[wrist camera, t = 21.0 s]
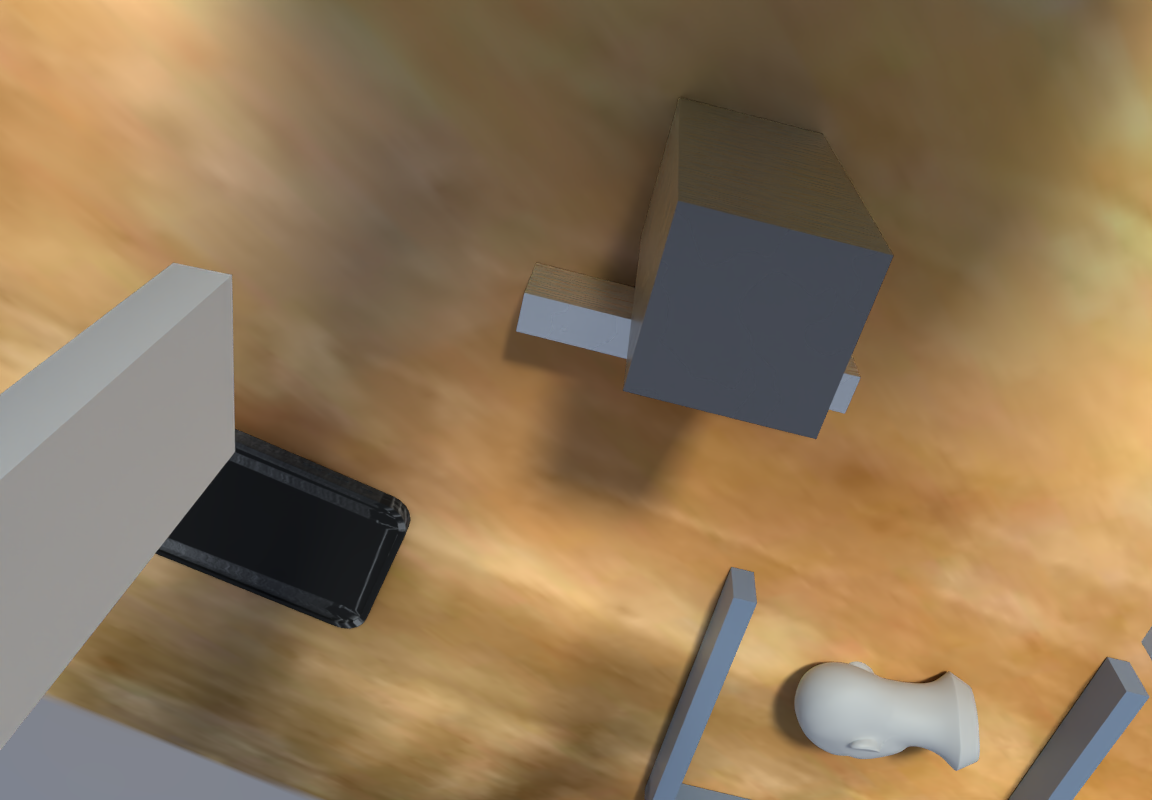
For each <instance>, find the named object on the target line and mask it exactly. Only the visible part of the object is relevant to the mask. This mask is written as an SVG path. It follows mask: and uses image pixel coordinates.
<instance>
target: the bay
mask: <svg viewBox="0 0 1152 800" xmlns="http://www.w3.org/2000/svg"><path fill="white" fill-rule="evenodd" d="M756 604H757V599H756V589H755V580H754V572H750V571H746V570H742V569H738V568H733V567H731V569H730V572H729V574H728V577H727V580H726V582H725V585H724V587H723V590H722V592H721V595H720V598H719V600H718V603H717V605H716V608H715V610H714V613H713V615H712V618H711V621H710V623H709V626H708V628H707V631H706V633H705V636H704V639H703V641H702V644H701V646H700V649H699V651H698V654H697V656H696V659H695V662H694V664H693V667H692V669H691V672H690V674H689V677H688V680H687V682H686V685H685V687H684V690H683V692H682V695H681V698H680V700H679V703H678V705H677V708H676V710H675V713H674V715H673V718H672V721H671V723H670V726H669V728H668V731H667V733H666V736H665V739H664V741H663V744H662V746H661V749H660V751H659V754H658V756H657V759H656V762H655V764H654V767H653V769H652V772H651V774H650V777H649V780H648V782H647V785H646V787H645V800H750V799H745V798H741V797H737V796H733V795H728V794H724V793H720V792H716V791H711V790H707V789H703V788H699V787H694V786H690V785H686V784H682V781H683V779H684V776H685V774H686V772H687V769H688V767H689V764H690V762H691V760H692V757H693V755H694V752H695V750H696V748H697V745H698V743H699V740H700V738H701V736H702V733H703V731H704V729H705V726H706V724H707V721H708V719H709V717H710V714H711V712H712V709H713V707H714V705H715V702H716V700H717V697H718V695H719V693H720V690H721V688H722V685H723V683H724V681H725V678H726V676H727V674H728V671H729V669H730V666H731V664H732V662H733V659H734V657H735V654H736V652H737V650H738V647H739V645H740V642H741V640H742V638H743V635H744V633H745V630H746V628H747V626H748V623H749V621H750V619H751V616H752V614H753V611H754V609H755V607H756ZM1148 698H1149V695H1148V694H1147V692H1146V690H1145V688H1144V687H1143V685H1142V683H1141V681H1140V680H1139V678H1138V676H1137V675H1136V673H1135V671H1134V669H1133V668H1132V666H1131V664H1130V663H1129V662H1126V661H1122V660H1118V659H1113V658H1109V657H1107V658H1106V660H1105V661H1104V663H1103V664H1102V666H1101V667H1100V668H1099V670H1098V671H1097V673H1096V674H1095V676H1094V677H1093V679H1092V680H1091V681H1090V683H1089V684H1088V686H1087V687H1086V689H1085V690H1084V692H1083V693H1082V694H1081V696H1080V697H1079V699H1078V700H1077V702H1076V703H1075V705H1074V706H1073V707H1072V709H1071V710H1070V712H1069V713H1068V715H1067V716H1066V718H1065V719H1064V720H1063V722H1062V723H1061V725H1060V726H1059V728H1058V729H1057V730H1056V732H1055V733H1054V735H1053V736H1052V738H1051V739H1050V741H1049V742H1048V743H1047V745H1046V746H1045V748H1044V749H1043V751H1042V752H1041V754H1040V755H1039V756H1038V758H1037V759H1036V761H1035V762H1034V764H1033V765H1032V767H1031V768H1030V769H1029V771H1028V772H1027V774H1026V775H1025V777H1024V778H1023V780H1022V781H1021V782H1020V784H1019V785H1018V787H1017V788H1016V790H1015V791H1014V792H1013V794H1012V795H1011V797H1010V798H1009V800H1073V799H1074V797H1075V796H1076V795H1077V793H1078V792H1079V791H1080V789H1081V788H1082V787H1083V785H1084V784H1085V783H1086V781H1087V780H1088V779H1089V777H1090V776H1091V774H1092V773H1093V772H1094V770H1095V769H1096V768H1097V766H1098V765H1099V764H1100V762H1101V761H1102V760H1103V758H1104V757H1105V756H1106V754H1107V753H1108V752H1109V750H1110V749H1111V748H1112V746H1113V745H1114V744H1115V742H1116V741H1117V740H1118V738H1119V737H1120V736H1121V734H1122V733H1123V732H1124V730H1125V729H1126V728H1127V726H1128V725H1129V724H1130V722H1131V721H1132V720H1133V718H1134V717H1135V716H1136V714H1137V713H1138V712H1139V710H1140V709H1141V708H1142V706H1143V705H1144V703H1145V702H1146V701H1147V699H1148Z"/></svg>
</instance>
